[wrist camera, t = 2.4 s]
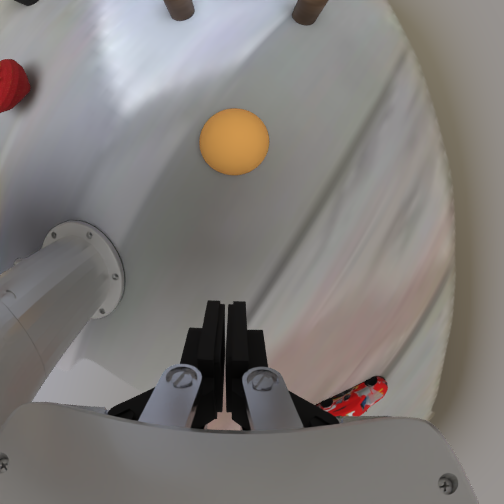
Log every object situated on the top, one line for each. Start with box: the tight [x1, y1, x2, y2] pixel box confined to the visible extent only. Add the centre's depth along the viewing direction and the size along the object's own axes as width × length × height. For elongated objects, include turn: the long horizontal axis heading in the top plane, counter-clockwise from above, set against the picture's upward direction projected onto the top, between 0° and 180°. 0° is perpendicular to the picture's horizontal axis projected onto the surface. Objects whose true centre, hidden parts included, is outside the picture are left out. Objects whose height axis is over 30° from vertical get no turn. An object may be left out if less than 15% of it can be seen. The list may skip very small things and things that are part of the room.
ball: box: [199, 108, 269, 175], centre depth 22 cm, size 6×6×6 cm
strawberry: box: [0, 59, 30, 113], centre depth 15 cm, size 6×8×10 cm
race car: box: [316, 377, 388, 419], centre depth 36 cm, size 13×5×4 cm, turn 116°
